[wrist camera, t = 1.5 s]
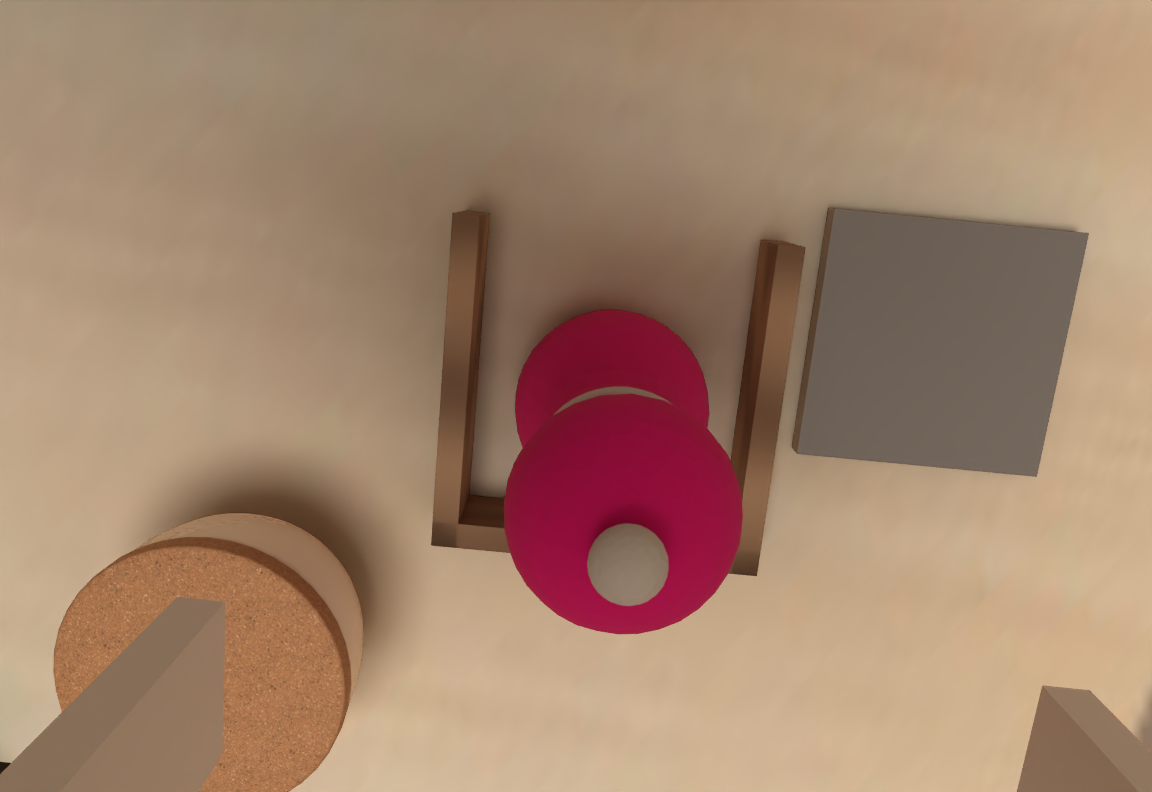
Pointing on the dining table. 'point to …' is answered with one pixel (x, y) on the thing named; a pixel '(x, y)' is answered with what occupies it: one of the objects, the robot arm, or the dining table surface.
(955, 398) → the coaster
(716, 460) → the pepper mill
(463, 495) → the u-shaped frame
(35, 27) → the dining table surface
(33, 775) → the robot arm
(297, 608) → the lidded jar
